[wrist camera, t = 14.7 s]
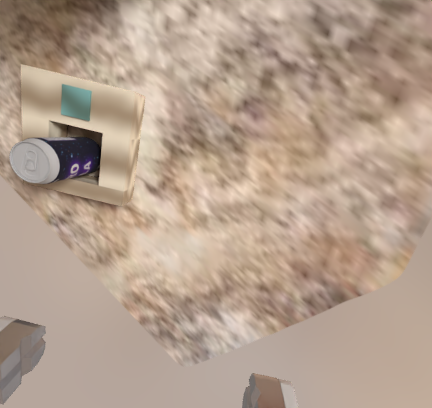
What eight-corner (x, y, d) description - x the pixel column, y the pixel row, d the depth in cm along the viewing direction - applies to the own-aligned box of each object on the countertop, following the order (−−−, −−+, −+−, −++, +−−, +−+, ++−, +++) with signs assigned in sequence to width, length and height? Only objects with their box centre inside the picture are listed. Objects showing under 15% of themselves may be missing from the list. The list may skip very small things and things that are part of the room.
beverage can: (70, 165, 39) (4, 177, 27) (75, 132, 37) (7, 130, 26) (102, 176, 39) (50, 192, 28) (109, 144, 37) (56, 147, 26)
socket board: (43, 71, 35) (18, 63, 31) (145, 96, 35) (134, 91, 31) (42, 178, 40) (21, 183, 36) (132, 199, 40) (121, 206, 36)
